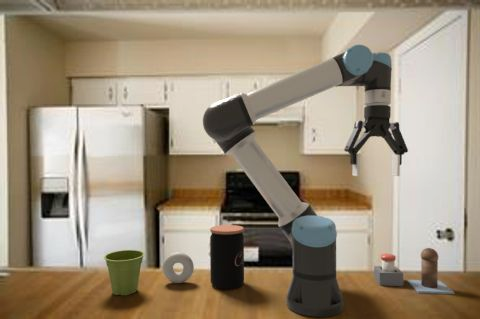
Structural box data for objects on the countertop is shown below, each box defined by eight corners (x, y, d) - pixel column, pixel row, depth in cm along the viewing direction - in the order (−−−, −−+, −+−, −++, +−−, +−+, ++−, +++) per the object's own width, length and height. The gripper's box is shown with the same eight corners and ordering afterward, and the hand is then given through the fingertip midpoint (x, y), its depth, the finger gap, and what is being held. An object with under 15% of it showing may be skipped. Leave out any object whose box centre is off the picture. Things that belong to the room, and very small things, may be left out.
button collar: (379, 285, 114) (379, 272, 114) (374, 278, 121) (374, 265, 121) (403, 286, 114) (403, 273, 114) (396, 278, 121) (396, 266, 121)
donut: (161, 285, 116) (161, 253, 116) (163, 281, 120) (163, 251, 120) (193, 284, 117) (193, 253, 117) (194, 280, 120) (194, 250, 120)
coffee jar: (240, 291, 110) (240, 232, 110) (206, 289, 112) (205, 230, 112) (247, 280, 121) (246, 225, 121) (215, 278, 123) (215, 224, 123)
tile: (418, 293, 108) (418, 290, 108) (406, 281, 118) (406, 279, 118) (454, 294, 107) (454, 292, 107) (439, 282, 117) (439, 280, 117)
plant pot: (95, 295, 109) (94, 257, 108) (125, 282, 119) (124, 248, 119) (124, 302, 103) (124, 262, 103) (153, 288, 114) (152, 252, 113)
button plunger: (382, 280, 116) (382, 257, 116) (379, 276, 120) (379, 253, 120) (397, 281, 115) (397, 257, 115) (393, 276, 119) (393, 254, 119)
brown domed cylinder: (424, 287, 110) (424, 249, 110) (418, 282, 115) (418, 246, 115) (441, 288, 110) (441, 250, 110) (434, 283, 114) (434, 246, 114)
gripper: (346, 102, 105) (345, 176, 105) (421, 106, 110) (420, 176, 111) (333, 105, 112) (332, 175, 112) (404, 109, 118) (403, 175, 118)
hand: (376, 176), depth 111 cm, fingers open, 13 cm apart
